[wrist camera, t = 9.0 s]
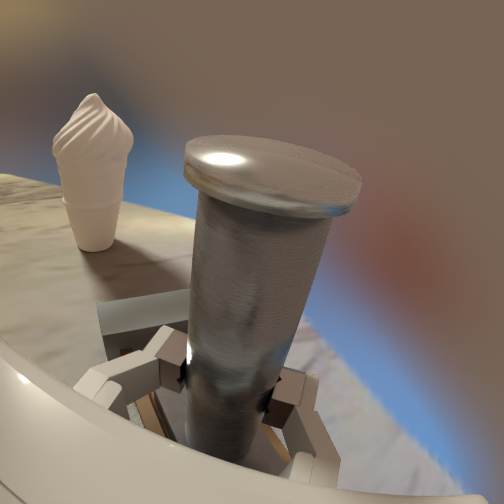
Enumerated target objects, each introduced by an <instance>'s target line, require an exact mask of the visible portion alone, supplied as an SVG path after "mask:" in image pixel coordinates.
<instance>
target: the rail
mask: <svg viewBox="0 0 504 504" xmlns="http://www.w3.org/2000/svg"><path fill="white" fill-rule="evenodd" d="M189 300H190V288H187V289H181V290H175V291H169V292H163V293H157V294H151V295H145V296H139V297H133V298H127V299H121V300H114V301H108V302H102V303H96V306H97V312H98V318H99V323H100V328H101V333H102V338H103V342H104V347H105V351H106V355H107V359H108V361H111V360H113V359H116V358H119V357H122V356H124V355H127V354H130V353H132V352H135V351H138V350H141V351H143V350H144V349H145V347H146V346H147V345H148V343H149V342H150V341H151V339H152V338H153V337H154V336H155V334H156V333H157V332H158V330H159V329H160V328H161V327H162V326H164V325H166V326H168V327H171V328H173V329H175V330H178V331H181V332H183V333H185V334H188V317H189ZM135 403H136V406H137V409H138V412H139V415H140V417H141V420H142V423H143V425H144V428H145V429H147V430H149V431H152V432H154V433H156V434H158V435H160V436H163V437H165V438H167V439H169V440H171V439H170V437H169V434H168V432H167V430H166V428H165V425H164V423H163V421H162V418H161V416H160V413H159V411H158V409H157V406H156V404H155V401H154V393H153V392H151V393H149V394H148V395H146V396H144V397H142V398H140V399H138V400H136V401H135ZM262 419H263V418H262ZM261 422H262V421H261ZM259 427H260V428H261V430H262V431H263V433H264V434H265V436H266V437H267V439H268V440H269V442H270V443H271V444H272V446H273V447H274V449H275V450H276V452H277V453H278V455H279V456H280V458H281V459H282V460H283V462H284V463H285V465H286V466H287V465H288V463H289V462H290V461H291V457H290V454H289V453H288V451H287V450H286V448H285V447H284V446H283V444H282V443H281V441H280V440H279V438H278V437H277V436H276V434H275V433H274V431H273V430H272V428H271V427H270V425H266V424H263V423H260V425H259Z"/></svg>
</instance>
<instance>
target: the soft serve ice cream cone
mask: <svg viewBox="0 0 504 504" xmlns="http://www.w3.org/2000/svg"><path fill="white" fill-rule="evenodd" d="M133 141H134V140H133V135H132V133H131V131H130V129H129V128H128V127H127V126H126V125H125V124H124V123H123V121H122V120H121V119H120V118H119V117H118V116H117V115H116V114H114V113H113V112H112V111H111V110H110V109H108V108H107V107H106V106H105V105H104V103H103V102H102V101H101V99H100V98H99V96H98V95H97V94H96V93H94V94H90V95H88V96H87V97H86V98H85V99H84V100H83V101H82V102H81V103H80V105H79V107H78V109H77V110H76V111H75V112H74V114H73V115H72V117H71V120H70V121H69V122H68V123H67V124H66V125H65V126H64V127H63V128H62V129H61V131H60V132H59V133H58V134H57V135H56V136H55V138H54V140H53V144H54V146H53V148H52V153H53V155H54V156H55V157H56V161H57V164H58V172H59V174H60V176H61V186H62V192H63V199H62V200H63V204H64V205H65V206H66V210H67V213H68V217H69V220H70V223H71V226H72V230H73V233H74V236H75V239H76V242H77V245H78V247H79V248H80V249H82V250H84V251H87V252H99V251H103V250H105V249H108V248H109V247H110V246H112V244H113V242H114V238H115V231H116V225H117V220H118V214H119V209H120V203H121V200H122V199H123V191H122V190H123V182H124V170H125V168H126V167H127V155H128V153H129V151H130V149H131V148H132V145H133Z"/></svg>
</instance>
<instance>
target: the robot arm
mask: <svg viewBox="0 0 504 504" xmlns="http://www.w3.org/2000/svg"><path fill="white" fill-rule="evenodd" d="M187 337H188V334H185V333H183V332H181V331H178V330H175V329H173V328H171V327H168V326H166V325H164V326H162V327H161V328H160V329H159V330H158V332H157V333H156V334H155V336H154V337H153V338H152V339H151V341H150V342H149V343H148V345H147V346H146V347H145V349H144V350H143V351H141V350H138V351H135V352H132V353H130V354H127V355H124V356H122V357H119V358H116V359H113V360H111V361H108V362H105V363H102V364H99V365H96V366H94V367H91V368H89V370H88V371H87V372H86V373H85V374H84V376H83V377H82V378H81V379H80V380H79V382H78V383H77V384H76V385H75V386H74V388H73V389H72V388H71V387H69V386H68V385H66V384H64V383H63V382H61V381H60V380H58V379H57V378H55V377H54V376H52V375H51V374H49V373H48V372H47V371H45V370H44V369H42V368H41V367H39V366H38V365H37V364H35V363H34V362H33V361H31V360H30V359H28V358H27V357H26V356H24V355H23V354H22V353H21V352H19V351H18V350H17V349H15V348H14V347H13V346H12V345H10V344H9V343H8V342H7V341H5V340H4V339H3V338H2V337H1V336H0V504H489V503H488V502H487V501H486V499H485V498H484V497H483V496H481V495H476V494H473V495H457V496H406V495H389V494H377V493H367V492H359V491H351V490H344V489H337V488H336V486H337V480H338V474H339V468H340V461H341V459H340V457H339V455H338V453H337V450H336V448H335V446H334V444H333V442H332V440H331V438H330V436H329V434H328V432H327V430H326V428H325V426H324V424H323V422H322V420H321V418H320V416H319V414H318V412H317V411H314V406H315V401H316V395H317V390H318V384H319V376H317V375H313V374H309V373H306V372H302V371H299V370H295V369H291V368H288V367H284V366H283V368H282V370H281V373H280V376H279V378H278V381H277V383H276V385H275V387H274V390H273V392H272V395H271V398H270V401H269V402H268V405H267V407H266V410H265V413H264V416H263V419H262V422H261V423H263V424H266V425H270V426H273V427H276V428H279V429H282V432H283V436H284V439H285V442H286V445H287V448H288V451H289V454H290V457H291V461H290V462H289V463H288V465H287V466H286V467H285V468H284V470H283V471H282V472H281V473H280V475H279V477H278V476H274V475H271V474H267V473H263V472H260V471H256V470H253V469H249V468H246V467H243V466H239V465H236V464H233V463H230V462H227V461H224V460H221V459H218V458H215V457H213V456H210V455H207V454H204V453H202V452H199V451H196V450H194V449H191V448H189V447H186V446H184V445H181V444H179V443H176V442H174V441H172V440H169V439H167V438H165V437H163V436H160V435H158V434H156V433H154V432H152V431H149V430H147V429H145V428H143V427H141V426H139V425H137V424H135V423H133V422H131V421H130V417H129V414H128V410H127V407H126V406H127V405H129V404H131V403H133V402H134V401H136V400H138V399H140V398H142V397H144V396H146V395H148V394H149V393H151V392H153V391H155V390H157V389H159V388H160V386H161V387H163V388H166V389H168V390H171V391H173V392H176V393H179V394H180V393H181V392H182V390H183V388H184V386H185V385H186V362H187Z"/></svg>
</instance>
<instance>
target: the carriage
mask: <svg viewBox="0 0 504 504" xmlns="http://www.w3.org/2000/svg"><path fill="white" fill-rule="evenodd" d="M183 175H184V177H185V179H186V180H187V182H189V183H190V184H191V185H192V186H193V187H195V188H196V189H198V190H199V194H198V205H197V214H196V224H195V235H194V246H193V258H192V271H191V285H190V300H189V317H188V337H187V362H186V385H185V386H184V388H183V390H182V392H181V393H180V394H179V393H176V392H173V391H171V390H168V389H166V388H163V387H161V386H160V388H159V389H157V390H155V391H153V393H154V401H155V404H156V406H157V409H158V411H159V413H160V416H161V418H162V421H163V423H164V425H165V428H166V430H167V432H168V434H169V437H170V439H171V440H172V441H174V442H176V443H179V444H181V445H184V446H186V447H189V448H191V449H194V450H196V451H199V452H202V453H204V454H207V455H210V456H213V457H215V458H218V459H221V460H224V461H227V462H230V463H233V464H236V465H239V466H243V467H246V468H249V469H253V470H256V471H260V472H263V473H267V474H271V475H274V476H278V477H279V475H280V473H281V472H282V471H283V470H284V468H285V467H286V465H285V463H284V462H283V460H282V459H281V458H280V456H279V455H278V453H277V452H276V450H275V449H274V447H273V446H272V444H271V443H270V442H269V440H268V439H267V437H266V436H265V434H264V433H263V431H262V430H261V428H260V427H259V425H260V423H261V421H262V418H263V416H264V413H265V410H266V407H267V405H268V402H269V401H270V398H271V395H272V392H273V390H274V387H275V385H276V383H277V381H278V378H279V376H280V373H281V370H282V368H283V365H284V363H285V360H286V357H287V355H288V352H289V349H290V346H291V344H292V341H293V338H294V335H295V333H296V330H297V327H298V324H299V321H300V319H301V316H302V313H303V310H304V307H305V304H306V301H307V298H308V295H309V292H310V289H311V286H312V283H313V280H314V277H315V274H316V271H317V268H318V265H319V262H320V259H321V255H322V252H323V249H324V246H325V243H326V239H327V236H328V233H329V230H330V226H331V223H332V219H333V217H338V216H342V215H345V214H347V213H349V212H350V211H352V210H353V209H354V207H355V205H356V202H357V198H358V195H359V191H360V188H361V185H362V181H363V178H362V176H361V175H360V174H359V172H357V171H356V170H355V169H354V168H352V167H350V166H349V165H347V164H346V163H344V162H342V161H340V160H338V159H335V158H333V157H331V156H328V155H326V154H323V153H320V152H318V151H315V150H312V149H309V148H305V147H302V146H298V145H294V144H290V143H286V142H281V141H276V140H271V139H264V138H258V137H249V136H237V135H215V136H214V135H213V136H204V137H199V138H195V139H192V140H190V141H189V142H187V144H186V149H185V160H184V169H183Z"/></svg>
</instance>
